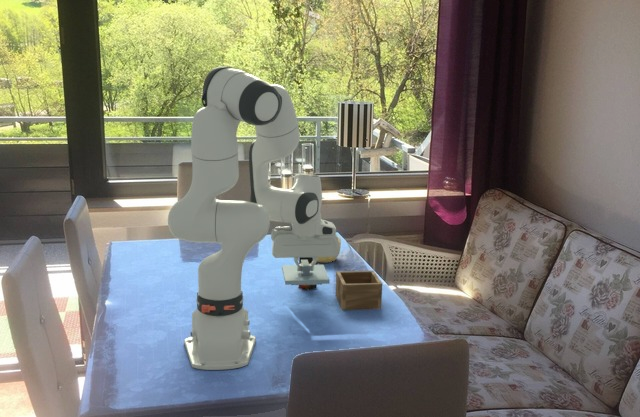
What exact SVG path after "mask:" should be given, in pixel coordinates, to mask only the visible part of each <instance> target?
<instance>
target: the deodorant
mask: <svg viewBox="0 0 640 417" xmlns="http://www.w3.org/2000/svg"><path fill="white" fill-rule="evenodd" d="M301 260H308V262H309V264H311V263H312V261H313V259H312V257H299V261H298V263H299V264H301ZM315 265H318V262H316V264H315ZM317 287H318V286H317V285H298V289H300V290H303V291H313V290H316V289H317Z"/></svg>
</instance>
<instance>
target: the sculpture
mask: <svg viewBox="0 0 640 417" xmlns="http://www.w3.org/2000/svg"><path fill="white" fill-rule="evenodd" d="M337 237H338V240H339V248H340V249H341V246H342V245H341V244H342V241H341V237H339V236H337ZM338 257H339V255H338V256H337V257H318V261H317V263H321V264H322V263H323V264H325V263H327V262H329V263H332V261H333V262H334V261H336V260H337V258H338ZM327 264H328V263H327Z"/></svg>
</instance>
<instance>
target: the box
mask: <svg viewBox="0 0 640 417" xmlns="http://www.w3.org/2000/svg"><path fill="white" fill-rule="evenodd" d="M335 276H336V277H335V297H336V300H337V301H338V304H339V306H340V309H341V311H353V310H354V311H357V310H358V311H361V310H381V309H382V301H383V300H382V297H383V283H382V281H381V280H380V278H379V277H378V275H377V274H376V272H375V271H374V270H350V271H349V270H348V271H347V270H346V271H345V270H343V271H342V270H341V271H336V275H335Z"/></svg>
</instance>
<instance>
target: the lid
mask: <svg viewBox="0 0 640 417" xmlns="http://www.w3.org/2000/svg"><path fill="white" fill-rule="evenodd" d="M301 264H302V271H297V265H296V264H291V265H290V264H288V265H287V264H286V265H281V271H282V274H283V275H282V276H283V279H284V283H285V284H284V285H288V286H289V285H291V286H299V285H318V286H319V285H323V284H324V285H325V284H329V285H330V281H331V280H330V278H329V274H328V272H327V270H326V268H325V265H324V264H317V265H314V271H310V265H309V262H308V260H301Z"/></svg>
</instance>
